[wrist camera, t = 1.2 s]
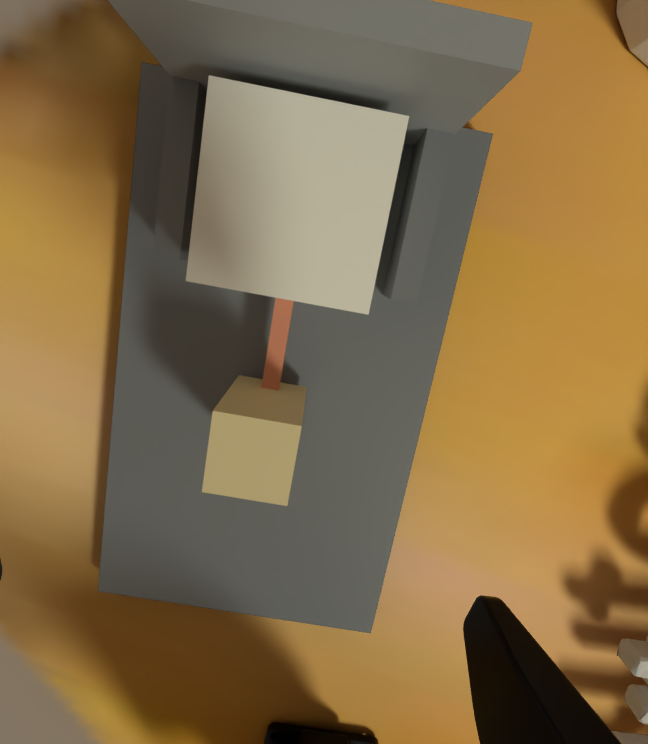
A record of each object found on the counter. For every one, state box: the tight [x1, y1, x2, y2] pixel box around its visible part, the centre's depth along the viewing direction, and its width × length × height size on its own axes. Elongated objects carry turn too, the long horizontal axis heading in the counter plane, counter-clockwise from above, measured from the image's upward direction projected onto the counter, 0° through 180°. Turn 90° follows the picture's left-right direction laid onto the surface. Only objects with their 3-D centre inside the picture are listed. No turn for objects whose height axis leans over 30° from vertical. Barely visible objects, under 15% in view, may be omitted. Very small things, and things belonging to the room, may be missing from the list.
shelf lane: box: [98, 0, 532, 633], centre depth 18 cm, size 24×14×9 cm, turn 170°
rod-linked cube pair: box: [186, 75, 409, 506], centre depth 17 cm, size 13×6×6 cm, turn 170°
